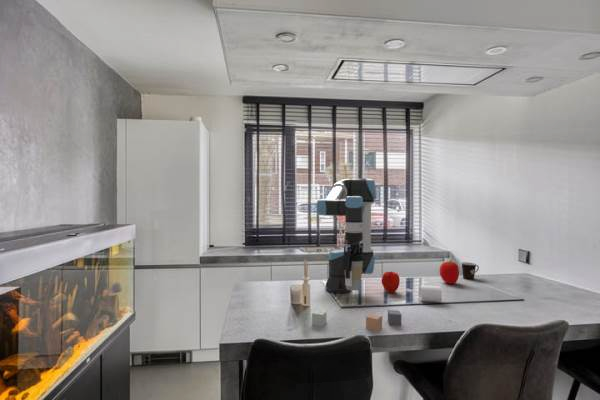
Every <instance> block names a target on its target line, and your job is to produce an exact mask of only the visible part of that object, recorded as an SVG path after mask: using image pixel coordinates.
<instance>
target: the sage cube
mask: <svg viewBox="0 0 600 400" xmlns="http://www.w3.org/2000/svg"><path fill="white" fill-rule="evenodd" d="M325 324H327V310H320V309H315V310H313V312H312V313H311V325H312V326H318V327H324V326H325Z"/></svg>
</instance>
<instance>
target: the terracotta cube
mask: <svg viewBox="0 0 600 400" xmlns="http://www.w3.org/2000/svg"><path fill="white" fill-rule="evenodd" d="M365 321H366V322H365V329H368V330H372V331H375V332H378V331H379V330H380V329H382V328H383V315H380V314H376V313H369V314H368V315H367V316H365Z"/></svg>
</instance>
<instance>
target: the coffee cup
mask: <svg viewBox="0 0 600 400" xmlns="http://www.w3.org/2000/svg"><path fill="white" fill-rule="evenodd" d="M343 258H344V256H343ZM351 258H352V259H351ZM363 260H365V259H364V257H363V255H362V254H355V256H350V261H352V267H351V271H352V286H346V288H347V289H348V290H352V291H359V290H360V289H361V282H362V275H363V274H362V267H363V265H362V264H363ZM344 271H345V270H344Z"/></svg>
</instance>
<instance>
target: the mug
mask: <svg viewBox="0 0 600 400" xmlns="http://www.w3.org/2000/svg"><path fill="white" fill-rule="evenodd" d="M418 292H419V293H418V294H419V301H420V302H429V303H441V302H442V300H443V291H442V288H441V286H434V285H433V286H432V285H419V291H418Z"/></svg>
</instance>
